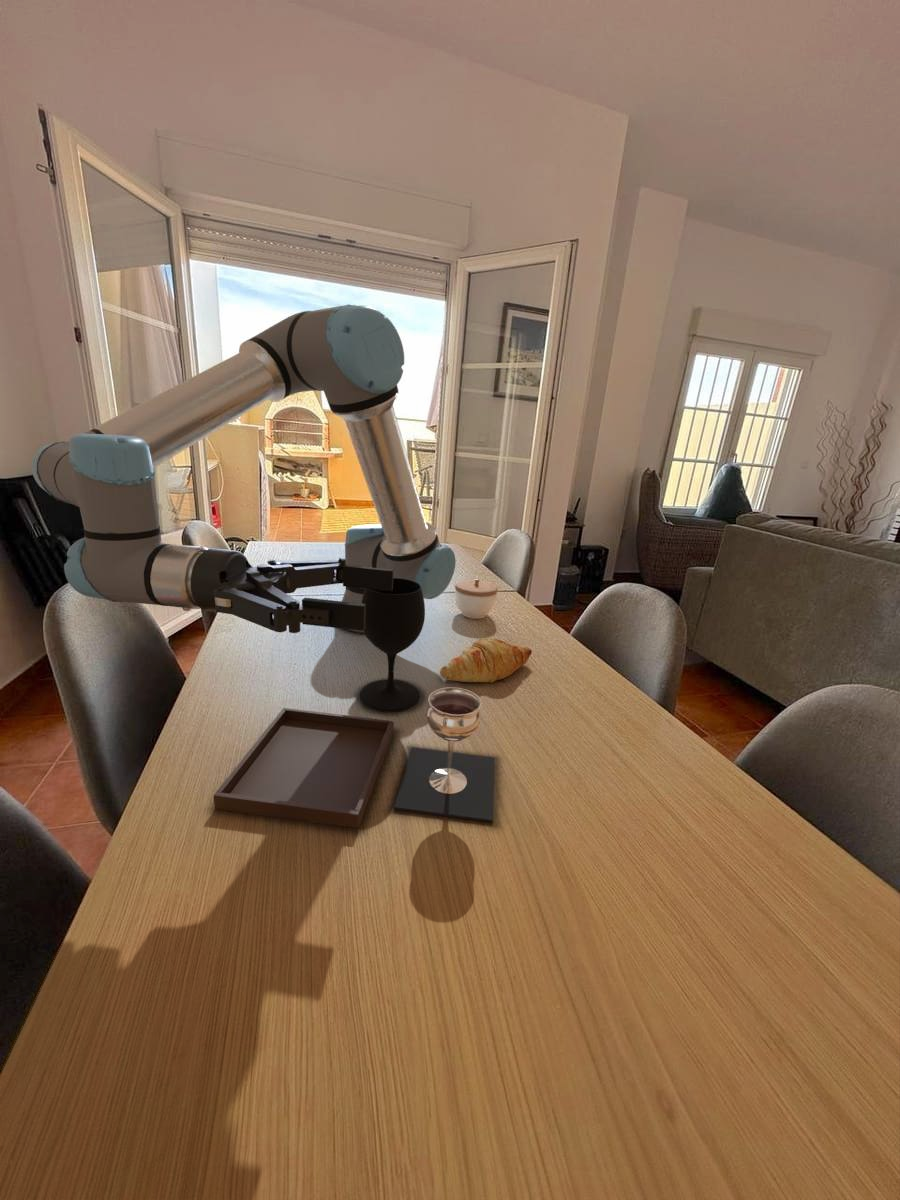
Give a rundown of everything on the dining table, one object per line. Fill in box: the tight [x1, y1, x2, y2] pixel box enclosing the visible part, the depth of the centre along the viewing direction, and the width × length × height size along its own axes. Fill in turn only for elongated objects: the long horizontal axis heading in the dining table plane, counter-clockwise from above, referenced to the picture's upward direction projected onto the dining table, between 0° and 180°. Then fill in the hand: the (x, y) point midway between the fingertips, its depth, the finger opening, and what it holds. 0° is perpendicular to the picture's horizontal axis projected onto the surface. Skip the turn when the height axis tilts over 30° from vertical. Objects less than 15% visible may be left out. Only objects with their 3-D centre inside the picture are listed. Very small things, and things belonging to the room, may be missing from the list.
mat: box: [393, 746, 495, 824], centre depth 64 cm, size 12×12×1 cm
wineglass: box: [426, 686, 482, 794], centre depth 62 cm, size 7×7×12 cm
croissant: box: [439, 637, 533, 683], centre depth 93 cm, size 21×10×8 cm, turn 122°
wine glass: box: [359, 578, 426, 713], centre depth 80 cm, size 10×10×20 cm
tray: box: [213, 707, 395, 829], centre depth 65 cm, size 19×17×2 cm
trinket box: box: [454, 578, 499, 619], centre depth 122 cm, size 11×11×9 cm
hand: (380, 596), depth 56 cm, fingers open, 13 cm apart
